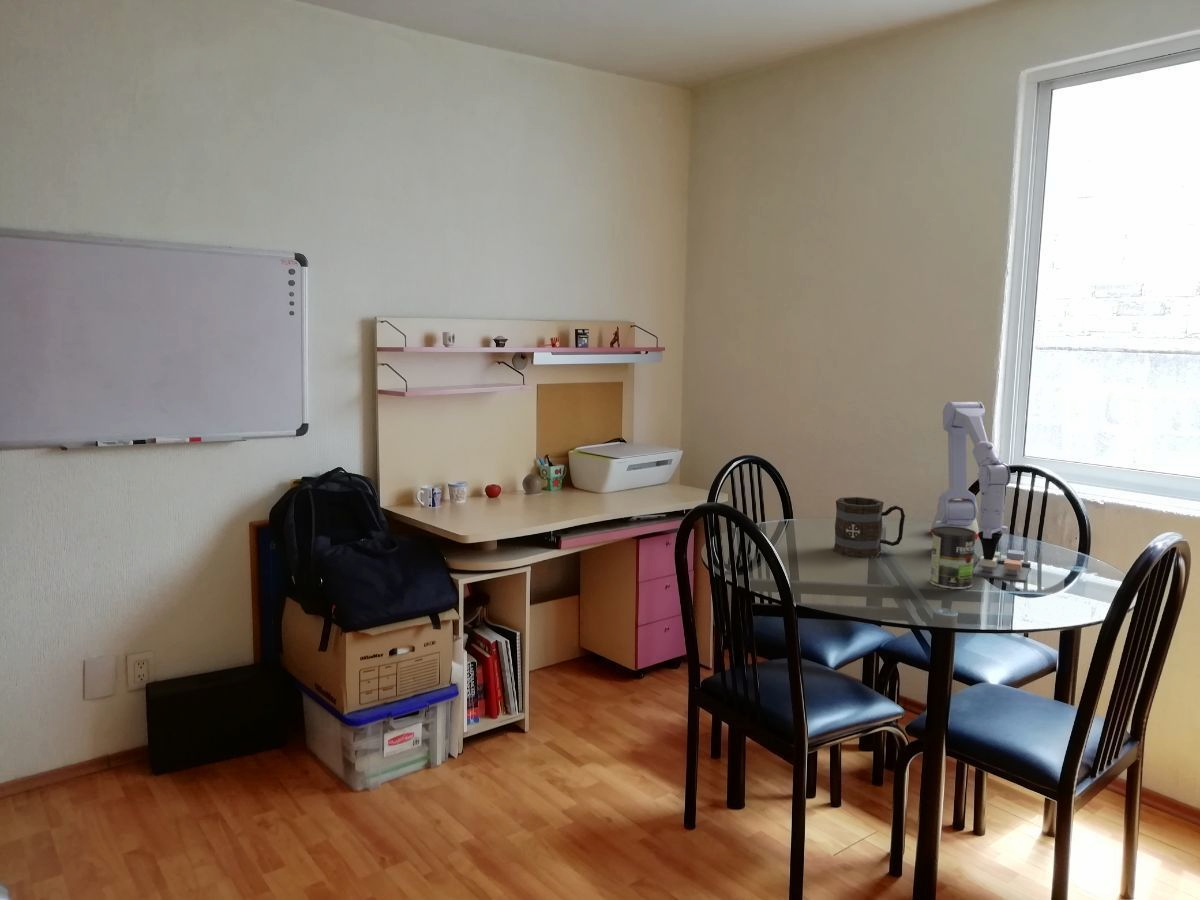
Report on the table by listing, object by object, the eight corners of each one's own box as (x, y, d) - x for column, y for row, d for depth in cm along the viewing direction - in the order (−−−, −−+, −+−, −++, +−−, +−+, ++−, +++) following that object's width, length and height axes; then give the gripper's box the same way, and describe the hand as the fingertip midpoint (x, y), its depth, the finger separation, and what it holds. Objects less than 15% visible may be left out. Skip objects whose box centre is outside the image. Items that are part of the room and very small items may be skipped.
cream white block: (982, 564, 247) (983, 553, 247) (984, 561, 251) (984, 550, 250) (998, 566, 245) (998, 555, 245) (999, 563, 249) (1000, 552, 248)
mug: (836, 557, 258) (838, 505, 256) (830, 545, 271) (832, 496, 269) (907, 559, 255) (910, 507, 253) (898, 547, 269) (900, 498, 266)
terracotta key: (1003, 574, 238) (1004, 562, 238) (1004, 570, 242) (1005, 559, 241) (1019, 576, 236) (1020, 564, 236) (1021, 572, 240) (1022, 561, 239)
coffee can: (981, 586, 230) (985, 532, 228) (952, 592, 226) (956, 537, 223) (949, 576, 239) (952, 524, 237) (920, 581, 235) (923, 528, 233)
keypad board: (971, 575, 240) (971, 569, 240) (979, 561, 253) (979, 556, 253) (1025, 582, 234) (1025, 576, 234) (1030, 568, 247) (1030, 562, 246)
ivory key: (978, 571, 241) (979, 559, 241) (980, 567, 244) (981, 556, 244) (995, 573, 239) (995, 561, 239) (996, 569, 243) (997, 558, 242)
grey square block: (1006, 564, 244) (1007, 552, 244) (1007, 560, 247) (1008, 549, 247) (1022, 566, 242) (1023, 554, 242) (1024, 562, 245) (1024, 551, 245)
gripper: (1005, 516, 231) (1001, 567, 233) (1011, 505, 244) (1007, 554, 246) (975, 513, 235) (972, 563, 237) (983, 503, 247) (980, 551, 249)
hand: (988, 559), depth 241 cm, fingers closed, pressing on ivory key
